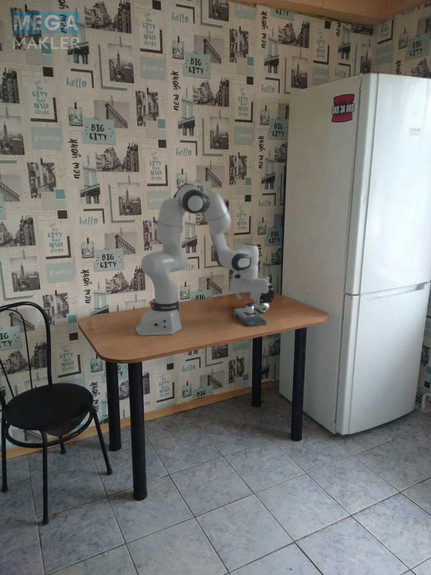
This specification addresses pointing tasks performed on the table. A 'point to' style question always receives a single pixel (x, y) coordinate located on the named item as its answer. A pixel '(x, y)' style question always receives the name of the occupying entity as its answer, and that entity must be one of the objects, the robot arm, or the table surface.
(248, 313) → the pin
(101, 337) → the table surface
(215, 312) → the table surface
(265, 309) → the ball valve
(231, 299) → the table surface
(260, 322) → the square-holed grey plate
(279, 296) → the table surface
